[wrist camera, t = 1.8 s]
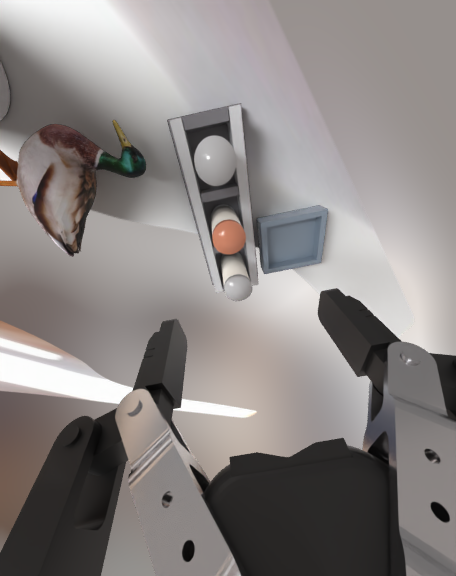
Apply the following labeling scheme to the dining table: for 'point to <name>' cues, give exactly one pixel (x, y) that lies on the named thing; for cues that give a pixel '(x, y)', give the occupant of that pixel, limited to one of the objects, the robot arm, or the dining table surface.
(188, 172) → the grey compartment rack
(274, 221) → the tray
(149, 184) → the dining table surface
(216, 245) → the cylinder
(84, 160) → the decorative duck model
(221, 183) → the white domed part
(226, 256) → the fuse
